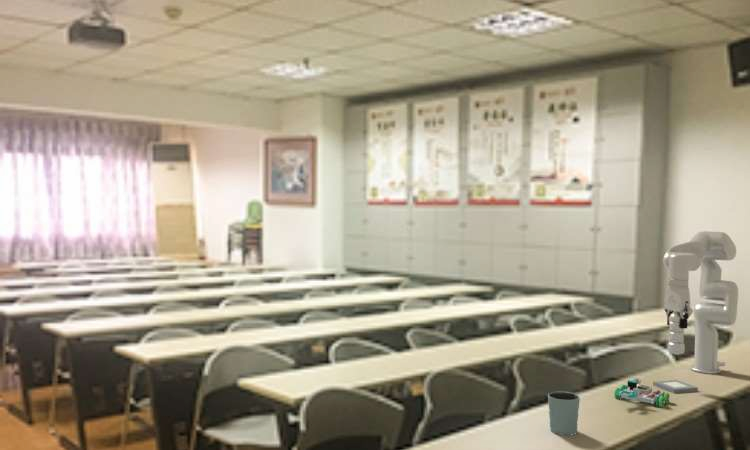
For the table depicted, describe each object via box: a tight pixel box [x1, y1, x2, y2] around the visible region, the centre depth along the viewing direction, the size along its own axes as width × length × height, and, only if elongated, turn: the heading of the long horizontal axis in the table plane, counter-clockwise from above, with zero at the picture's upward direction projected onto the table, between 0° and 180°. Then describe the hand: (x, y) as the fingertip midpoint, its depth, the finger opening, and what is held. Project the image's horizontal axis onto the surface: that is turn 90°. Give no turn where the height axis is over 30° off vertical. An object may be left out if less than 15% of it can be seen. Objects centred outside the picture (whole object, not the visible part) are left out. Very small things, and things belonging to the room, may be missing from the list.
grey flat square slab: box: [652, 379, 699, 394], centre depth 272 cm, size 12×12×2 cm
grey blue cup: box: [547, 390, 581, 436], centre depth 217 cm, size 10×10×12 cm
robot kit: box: [613, 377, 671, 408], centre depth 251 cm, size 19×25×9 cm
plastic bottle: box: [667, 311, 686, 355], centre depth 272 cm, size 6×7×20 cm
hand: (677, 326), depth 272 cm, fingers closed on plastic bottle, 6 cm apart
